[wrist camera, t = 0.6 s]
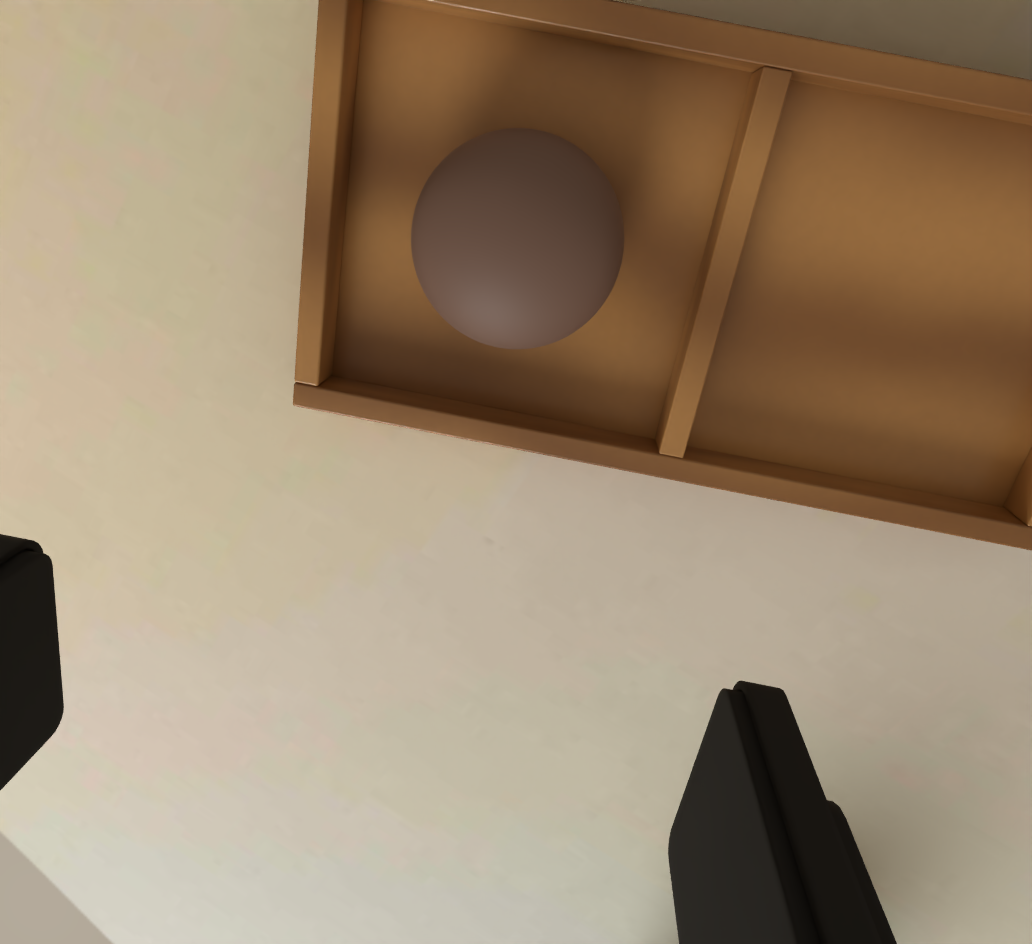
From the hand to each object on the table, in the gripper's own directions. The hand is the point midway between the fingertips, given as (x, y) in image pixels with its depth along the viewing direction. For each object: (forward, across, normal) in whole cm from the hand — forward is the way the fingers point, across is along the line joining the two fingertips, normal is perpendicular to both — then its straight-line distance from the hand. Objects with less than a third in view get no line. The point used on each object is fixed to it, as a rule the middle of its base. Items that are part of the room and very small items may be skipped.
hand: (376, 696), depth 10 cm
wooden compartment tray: (+16, -6, -5) cm, 18 cm away
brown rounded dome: (+16, 0, -5) cm, 17 cm away
